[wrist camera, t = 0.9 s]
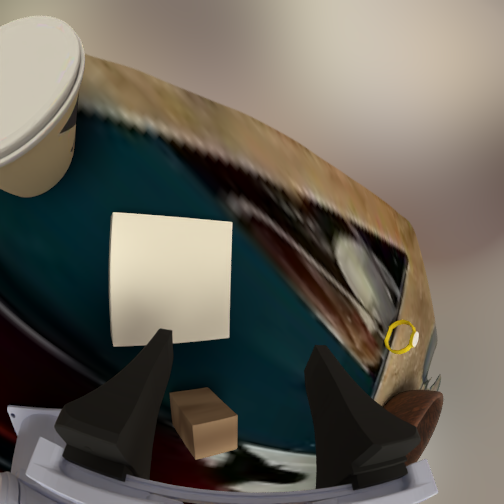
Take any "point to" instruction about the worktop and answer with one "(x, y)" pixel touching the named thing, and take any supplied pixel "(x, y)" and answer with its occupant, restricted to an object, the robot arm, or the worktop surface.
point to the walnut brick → (203, 422)
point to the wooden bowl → (417, 415)
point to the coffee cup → (38, 102)
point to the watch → (412, 340)
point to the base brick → (168, 278)
